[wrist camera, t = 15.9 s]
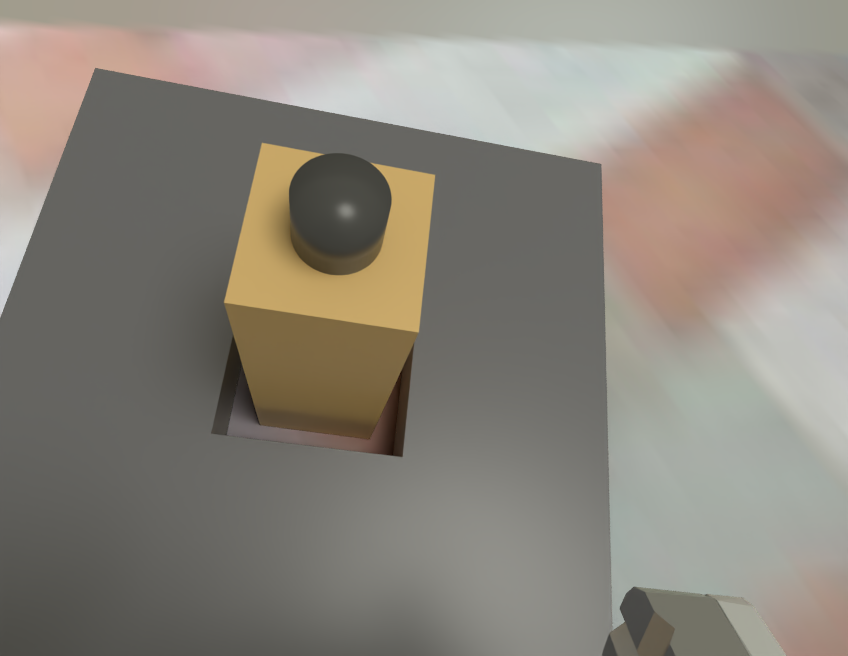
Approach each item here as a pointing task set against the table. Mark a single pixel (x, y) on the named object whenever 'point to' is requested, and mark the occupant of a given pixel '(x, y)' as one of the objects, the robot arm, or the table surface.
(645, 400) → the table surface
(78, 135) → the socket block
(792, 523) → the table surface
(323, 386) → the plug
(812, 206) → the table surface
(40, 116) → the table surface
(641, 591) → the robot arm
